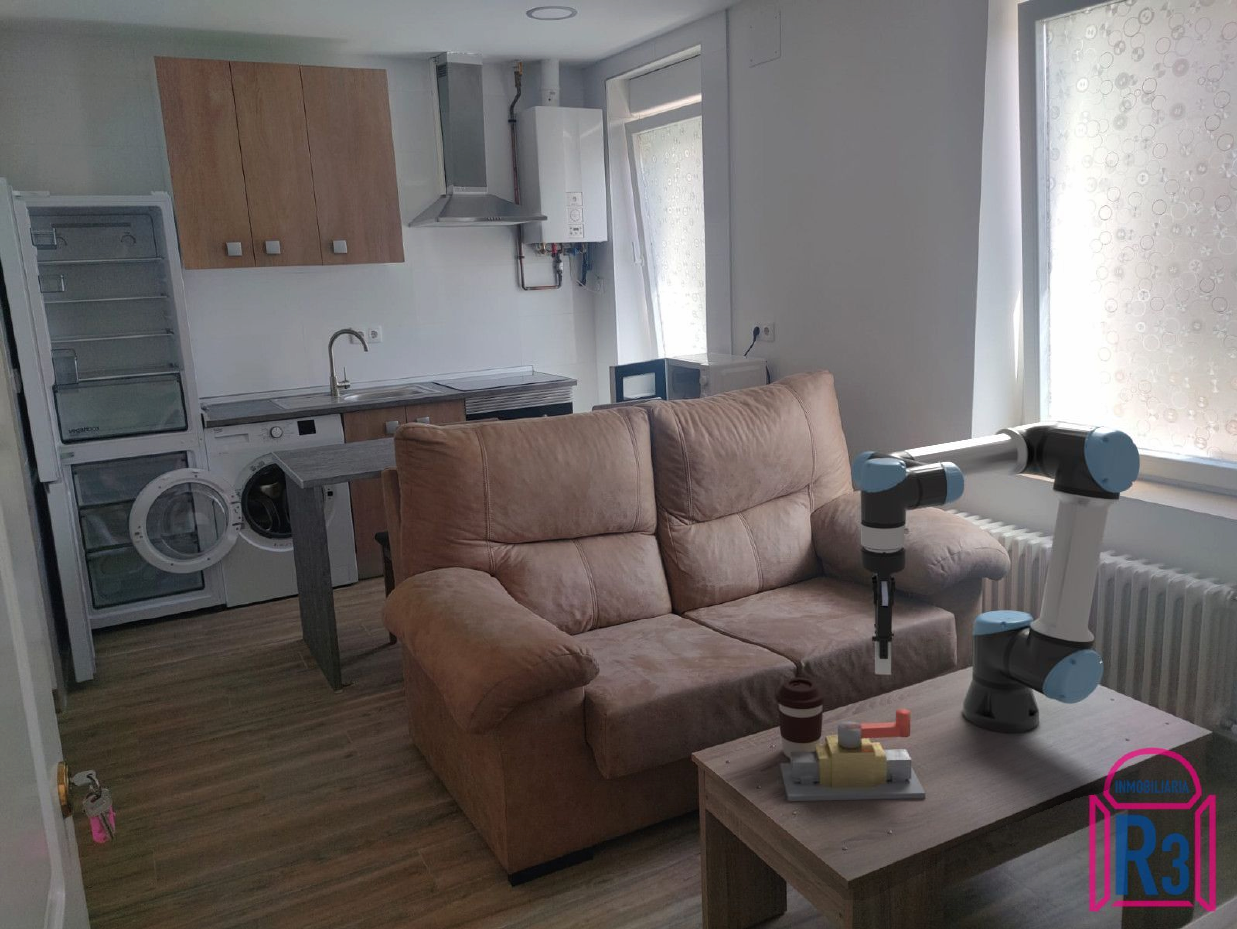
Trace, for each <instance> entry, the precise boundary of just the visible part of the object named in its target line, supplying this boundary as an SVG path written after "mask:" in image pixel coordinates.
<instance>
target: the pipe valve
mask: <svg viewBox="0 0 1237 929" xmlns="http://www.w3.org/2000/svg"><path fill="white" fill-rule="evenodd" d="M870 739H871V738H862V744H861V746H859V747H856V748H847V747H843V746H841V745H840V744H839V743H838V734H833V735H832V734H829V735H826V734H825V739H824V740H825V742H824V743H820V744H815V752H790V758H789V759H790V760H789V763H790V769H791V775H792V779H793V782H800V785H801V786H813V785H814V782H819V785H820V786H832V788H848V787H875V785H886V783H887V780H891V782H892V784H893V783H905V779H911V766H912V757H911V756H910V754H909V752H908V750H907V749H906V748H899V749H898V748H897V749H896V748H895V749H894V748H893V749H884V748H883V747H882V745H881V742H879V741H878V742H871V740H870Z"/></svg>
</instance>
